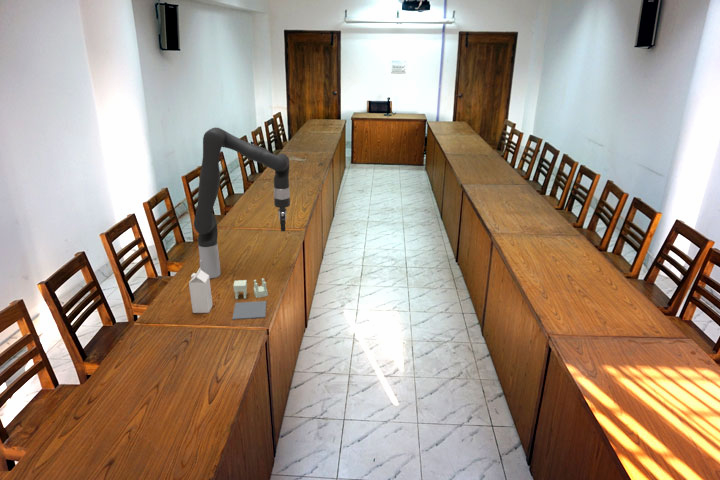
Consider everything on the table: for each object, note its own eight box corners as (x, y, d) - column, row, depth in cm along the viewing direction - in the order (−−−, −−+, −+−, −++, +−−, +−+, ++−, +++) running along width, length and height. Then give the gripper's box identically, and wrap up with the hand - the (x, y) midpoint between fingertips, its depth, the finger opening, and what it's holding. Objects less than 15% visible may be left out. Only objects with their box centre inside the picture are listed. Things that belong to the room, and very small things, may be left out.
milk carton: (212, 305, 231) (208, 267, 223) (209, 313, 224) (204, 274, 217) (197, 305, 230) (191, 267, 223) (192, 313, 224) (187, 274, 217)
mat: (232, 319, 219) (232, 318, 219) (235, 303, 232) (235, 302, 231) (265, 317, 221) (265, 316, 220) (266, 302, 233) (266, 300, 233)
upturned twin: (256, 298, 237) (255, 284, 234) (253, 293, 242) (252, 279, 239) (267, 296, 239) (266, 282, 236) (265, 290, 244) (264, 277, 241)
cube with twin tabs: (234, 299, 236) (233, 286, 233) (235, 293, 241) (234, 280, 238) (246, 298, 236) (245, 285, 234) (247, 293, 241) (246, 280, 239)
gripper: (274, 192, 248) (275, 223, 255) (273, 201, 235) (275, 233, 242) (289, 191, 249) (290, 222, 256) (290, 200, 236) (291, 233, 243)
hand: (283, 227), depth 249 cm, fingers open, 8 cm apart
